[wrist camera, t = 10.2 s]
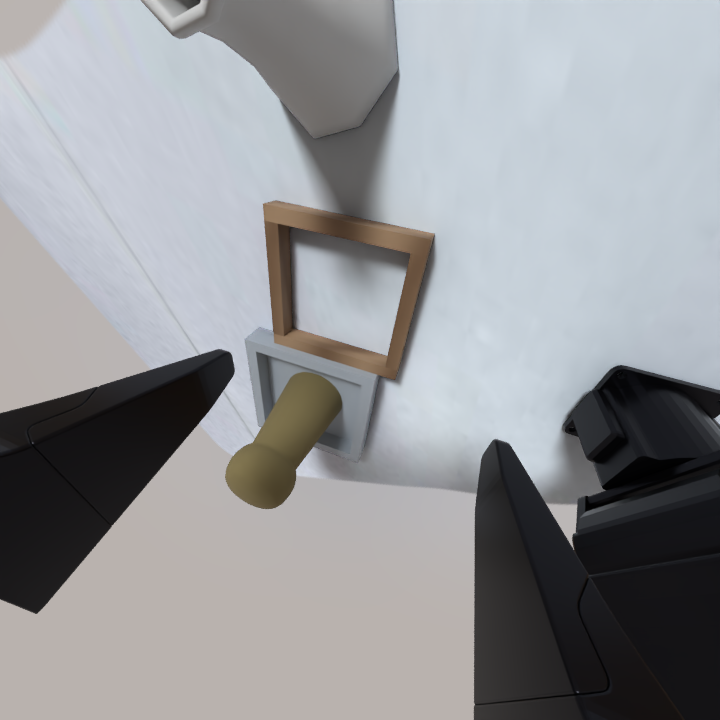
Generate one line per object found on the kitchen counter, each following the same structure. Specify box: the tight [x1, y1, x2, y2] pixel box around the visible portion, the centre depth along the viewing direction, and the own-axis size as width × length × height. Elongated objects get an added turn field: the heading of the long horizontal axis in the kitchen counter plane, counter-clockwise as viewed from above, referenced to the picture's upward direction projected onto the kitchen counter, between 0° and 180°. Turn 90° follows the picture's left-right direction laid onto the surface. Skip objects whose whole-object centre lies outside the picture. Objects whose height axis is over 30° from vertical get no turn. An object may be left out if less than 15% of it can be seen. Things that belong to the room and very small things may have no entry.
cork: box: [225, 372, 343, 509], centre depth 25 cm, size 6×6×11 cm
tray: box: [245, 327, 380, 463], centre depth 29 cm, size 12×12×2 cm
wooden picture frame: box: [263, 201, 434, 380], centre depth 22 cm, size 11×11×2 cm
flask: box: [141, 0, 398, 139], centre depth 11 cm, size 7×7×10 cm
